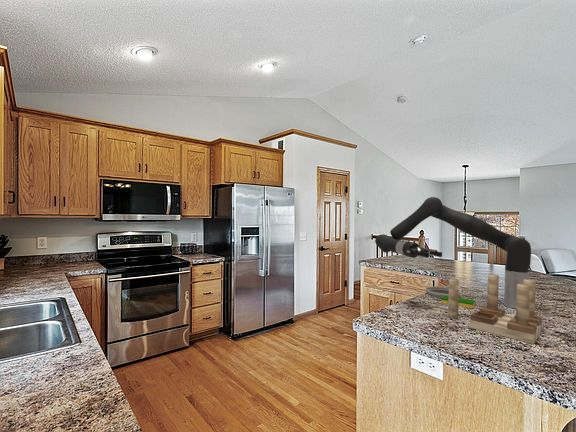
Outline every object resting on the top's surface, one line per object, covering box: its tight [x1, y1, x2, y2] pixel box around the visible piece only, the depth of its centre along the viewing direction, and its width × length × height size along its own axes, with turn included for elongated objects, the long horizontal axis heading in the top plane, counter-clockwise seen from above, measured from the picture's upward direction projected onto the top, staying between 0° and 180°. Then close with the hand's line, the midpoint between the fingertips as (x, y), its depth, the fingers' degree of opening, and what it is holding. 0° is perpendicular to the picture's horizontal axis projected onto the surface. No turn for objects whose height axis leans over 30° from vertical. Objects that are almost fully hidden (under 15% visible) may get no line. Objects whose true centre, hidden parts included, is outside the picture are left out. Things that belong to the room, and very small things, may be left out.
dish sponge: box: [440, 296, 476, 309], centre depth 155 cm, size 7×14×2 cm, turn 54°
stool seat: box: [468, 273, 544, 345], centre depth 122 cm, size 20×20×19 cm
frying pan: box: [424, 284, 460, 298], centre depth 177 cm, size 17×3×28 cm
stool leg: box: [447, 278, 460, 320], centre depth 134 cm, size 4×4×16 cm
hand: (435, 255), depth 143 cm, fingers open, 8 cm apart
